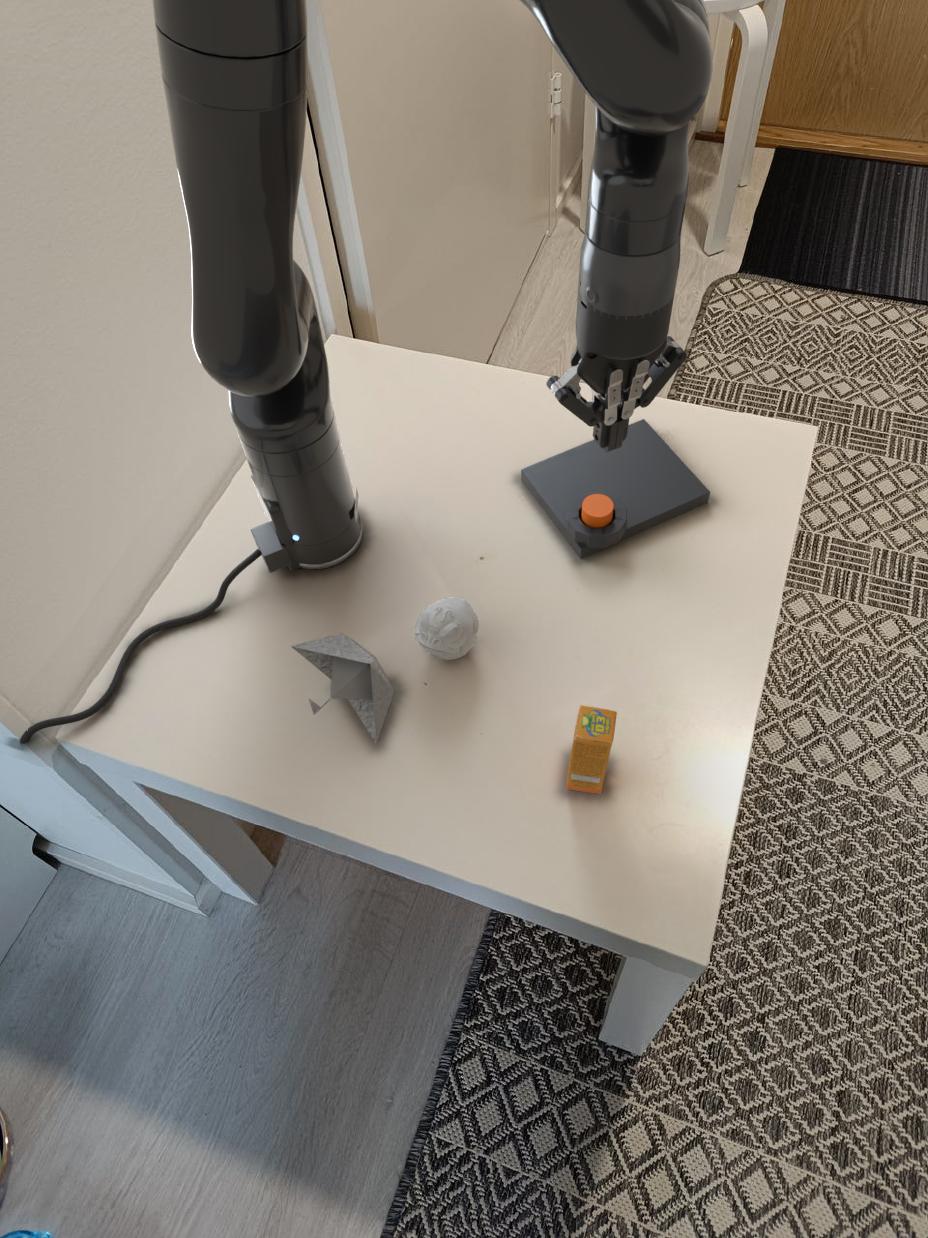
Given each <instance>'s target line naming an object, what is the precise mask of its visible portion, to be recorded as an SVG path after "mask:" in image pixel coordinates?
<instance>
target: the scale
mask: <svg viewBox="0 0 928 1238" xmlns="http://www.w3.org/2000/svg"><path fill="white" fill-rule="evenodd" d="M520 477H521V478H520V479H521V481H522V483H523V484H524V485H525V487H526V488H527V490H528V491H529V492H530V493H531V495H532V496H533V498H534V499H535V500H536V502H537V503H538V504H539V507H541V508H542V510H543V511H544V513H545V514H546V515H547V517H548V518H549V519H550V520H551V522H552V523H553V524H554V526H555V527H556V529H557V530H558V531H559V533H560V534H561V535H562V536H563V538H564V539H565V541H566V542H567V543H568V545H569V546H570V547H571V549H572V550H573V551H574V553H575V554H576V556H577V557H578V559H581V560H582V559H585V558H586V557H588V556H591V555H593V554H595V553H597V552H601V551H602V550H604V549H607V548H609V547H612V546H613V545H615V544H617V543H620V542H622V541H624V540H627V539H629V538H632V537H634V536H636V535H638V534H640V533H642V532H644V531H647V530H650V529H652V528H654V527H656V526H659V525H661V524H663V523H666V522H667V521H670V520H672V519H675V518H676V517H678V516H681V515H683V514H686V513H688V512H689V511H692V510H694V509H697V508H699V507H701V506H704V505H706V504H708V503H709V500H710V495H711V491H710V490H709V489H708V488H707V487H706V486H705V484H704V483H703V482H702V481H701V480H700V479H699V478H698V477H697V475H695V474H694V473H693V471H692V469H690V467H688V465H686V463H684V461H683V460H682V458H680V457H679V456H678V455H677V454H676V453H675V451H673V449H672V448H671V447H670V446H669V445H668V444H667V442H665V441H664V439H663V438H662V437H661V436H660V435H659V434H658V433H657V431H655V430H654V428H653V427H652V426H651V424H649V423H648V422H647V421H646V419H644V418H642V419H639V420H637V421H634V422H633V423H629V425H628V432H627V437H626V439H625V440H624V441H622V447H620V448H618V449H615V450H612V451H609V452H606V451H605V450H604V449H603V448H602V449H601V447H600V446H599V445H598V443H597V442H596V441H595V439H594V438H593V439H592V440H589V441H586V442H584V443H582V444H580V445H577V446H575V447H573V448H569V449H567V450H565V451H563V452H560V453H558V454H555V455H553V456H551V457H548V458H546V459H542V460H540V461H538V462H536V463H533V464H531V465H529V466H527V467H524V468H522V469H520ZM592 494H603V495H606V496H607V497H609V498H610V499H611V500H612V502H613V505H614V508H613V517H612V521H611V522H610V524H608V525H607V526H605V527H602V528H592V527H589V526H587V525H586V524H585V523H584V522H583V520H582V517H581V514H582V503H583V501H584V499H585V498H586V497H588V496H589V495H592Z"/></svg>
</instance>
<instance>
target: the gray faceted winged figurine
mask: <svg viewBox="0 0 928 1238" xmlns="http://www.w3.org/2000/svg"><path fill="white" fill-rule="evenodd" d="M290 648H292V649H293V650H294V651H295V652H297V653H298V654H299V655H300V656H301V657H303V658H304V659H305V660H306V661H307V662H309V663H310V664H311V665H312V666H314V667H315V668H316V669H317V670H318V671H320V672H321V673H322V674H323V675H324V676H326V677H327V678H328V679H329V680H331V681H330V698H328V699H327V701H325V703H323V704H322V705H321V706H320V705H319V704H317V703H316V702H314V701H313V700H312V699H310V698H308V701H309V704H310V708H311V712H312V714H313V716H315V715H316V714H318V712H320V711H321V710H322V709H323V708H324V707H325V706H326V705H327V704H328V703H329V702H330V701H331V700H347V701H348V702H349V704H350V705H351V707H352V708H353V710H354V712H355V713H356V714H357V716H358V717H359V719H360V721H361V722H362V724H363V725H364V727H365V728H366V730H367V731H368V733H369V734H370V737H372V738H373V741H374V743H375V744H377V743H378V741H379V738H380V736H381V732H382V730H383V727H384V724H385V721H386V717H387V715H388V712H389V710H390V707H391V704H392V701H393V698H394V695H395V689H394V686H393V685H392V683H391V681H390V679H389V677H388V675H387V674H386V672H385V671H384V669H383V668H382V666H381V663H380V662H379V661H378V659H377V658H376V656H375V655H373V654H372V653H371V652H370V651H369V650H367V649H366V648H364V646H362V645H361V644H360V643H358V642H356V641H355V640H354V639H353V638H352V637H349V636H348V635H346V634H344V633H343V632H339V633H337V634H336V633H335V634H332V635H328V636H326V637H321V638H317V639H312V640H309V641H305V642H302V643H298V644H294V645H290Z"/></svg>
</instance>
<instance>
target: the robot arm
mask: <svg viewBox="0 0 928 1238" xmlns="http://www.w3.org/2000/svg"><path fill="white" fill-rule="evenodd" d="M519 1H520V3H522V4H523V5H524V6H525V7H526V8H527V9H528V10H529V11H530V13H531V14H532V15H533V16H534V18H535V20H537V22H538V24H539V25H540V27H541V28H542V30H543V32H544V33H545V35H546V36H547V38H548V40H549V41H550V43H551V45H552V47H553V48H554V50H555V51H556V52H557V54H558V55H559V57H560V58H561V60H562V62H563V63H564V65H566V67H567V69H568V70H569V72H570V73H571V75H572V76H573V78H574V80H575V81H576V82H577V84H578V85H579V86H580V88H581V89H582V91H583V92H584V93H585V95H586V96H587V97H588V99H589V100H590V101H591V102H592V104H594V106H595V108H594V110H595V112H594V113H595V114H594V145H593V146H594V147H593V154H592V158H591V159H592V160H591V165H590V171H589V178H588V183H587V184H588V185H587V193H586V208H585V209H586V210H585V211H586V212H585V224H584V235H583V239H582V242H581V243H582V244H581V248H580V253H579V265H578V267H579V268H578V282H577V297H576V298H577V299H576V315H575V316H576V317H575V338H576V346H575V349H574V351H573V353H572V355H571V358H570V366H571V367H570V368H568V370H566V371H565V373H564V374H563V375H562V376H561V377H560V376H558V375H551V376H550V377H549V378H548V379H547V381H546V384H545V385H546V387H547V388H548V389H549V391H550V393H551V394H552V395H553V396H554V398H555V399H556V401H558V403H559V404H560V405H561V406H563V407H564V408H565V409H566V410H568V411H569V412H570V413H571V414H573V415H574V416H575V417H576V418H578V419H579V420H581V422H583V423H584V424H586V425H587V426H588V427H590V428H592V427H593V429H592V430H593V431H592V438H593V440H594V439H595V441H596V442H597V443H598V445H599V446H600V447H601V449H602V448H603V449H604V450H605V451H606V452H609V451H612V450H615V449H618V448H620V447H622V441H624V440H625V439H626V437H627V432H628V425H630V418H631V417H633V415H634V412H635V410H636V409H637V408H639V407H640V408H642V409H644V408H647V407H649V405H651V403H652V402H653V401H654V400H655V399H656V397H657V396H658V394H659V393H660V392H661V391H662V389H663V388H664V387H665V386H666V385H667V383H668V382H669V381H670V379H671V378H672V377H673V376H674V375H675V373H676V372H677V370H679V368H680V367H681V366H682V365H683V363H684V362H685V361H686V359H687V357H688V354H687V352H686V351H685V350H684V349H683V348H682V347H681V346H680V345H679V344H678V343H677V341H676V340H675V339H674V338H673V337H672V336H671V335H670V336H669V335H668V334H669V331H670V324H671V317H672V313H673V306H674V300H675V294H676V287H677V282H678V275H679V271H680V264H681V238H682V237H681V236H682V229H683V224H684V216H685V212H686V211H685V210H686V205H687V198H688V192H689V181H690V159H689V156H690V155H689V134H690V127H691V122H692V119H694V118H695V116H696V115H697V114H698V112H699V111H700V109H701V108H702V106H703V105H704V102H705V101H706V99H707V97H708V93H709V90H710V86H711V82H712V79H713V72H714V71H713V70H714V57H713V56H714V54H713V47H712V40H711V33H710V23H709V15H708V10H707V7H706V3H705V1H704V0H519ZM152 9H153V18H154V26H155V33H156V35H155V36H156V41H157V48H158V56H159V64H160V72H161V80H162V84H163V90H164V91H163V92H164V96H165V103H166V109H167V114H168V118H169V119H168V120H169V126H170V133H171V134H170V135H171V138H172V144H173V145H172V146H173V151H174V156H175V164H176V170H177V174H178V180H179V185H180V190H181V195H182V200H183V204H184V209H185V214H186V219H187V226H188V234H189V243H190V257H191V258H190V259H191V289H192V290H191V292H192V293H191V297H192V298H191V299H192V300H191V301H192V302H191V340H192V345H193V350H194V352H195V355H196V357H197V359H198V361H199V363H200V364H201V366H202V368H203V370H205V372H206V373H207V374H208V376H209V377H211V379H212V380H213V381H215V382H216V383H217V384H218V385H219V386H220V387H222V388H224V389H225V390H227V391H228V405H229V406H228V407H229V413H230V416H231V419H232V422H233V426H234V428H235V431H236V433H237V436H238V439H239V442H240V444H241V447H242V449H243V453H244V455H245V458H246V461H247V463H248V467H249V469H250V472H251V473H250V478H251V481H252V484H253V486H254V489H255V491H256V494H257V498H258V500H259V503H260V505H261V508H262V511H263V513H264V516H265V519H266V521H267V522H265V523H263V524H260V525H258V526H255V527H253V528H252V527H251V528H250V533H251V534H252V537H253V539H254V542H255V544H256V547H257V548H256V550H254V551H253V552H252V553H250V554H249V556H247V557H246V558H245V559H244V560H241V562H240V563H239V564H237V565H236V566H235V567H234V568H233V569H232V570H231V571H230V572H229V574H228V575H226V577H225V578H224V580H223V581H222V583H221V585H220V588H219V590H218V593H217V596H216V597H215V599H214V600H213V602H211V603H210V604H209V605H208V606H205V608H203V609H201V610H198V611H197V612H194V613H191V614H188V615H184V616H180V617H176V618H172V619H167V620H165V621H162V622H159V623H156V624H154V625H152V626H150V627H148V628H146V629H145V630H144V631H142V632H141V633H140V634H138V635H137V636H136V637H135V638H134V639H133V640H132V641H131V642H130V644H129V645H128V646H127V647H126V649H125V650H124V653H123V654H122V657H121V658H120V660H119V662H118V664H117V667H116V670H115V672H114V676H113V678H112V680H111V682H110V684H109V686H108V688H107V690H105V692H104V694H103V695H102V696H101V697H100V698H99V700H97V701H96V702H95V703H94V704H93V705H92V706H90V707H89V708H87V709H85V710H82V711H80V712H77V713H74V714H69V715H65V716H59V717H53V718H48V719H45V720H41V721H38V722H36V723H34V724H33V725H31V726H30V727H28V728H27V729H28V731H27V729H26V730H25V731H24V732H23V734H22V735H21V737H20V739H19V744H20V745H24V744H26V743H28V742H29V741H30V739H31V738H32V737H33V735H34V734H36V733H38V732H39V731H42V730H44V729H47V728H52V727H57V726H58V727H59V726H61V725H62V726H64V725H68V724H73V723H77V722H81V721H83V720H86V719H88V718H90V717H91V716H93V715H95V714H97V713H98V712H99V711H101V710H102V708H104V707H105V706H106V705H107V703H109V701H110V700H111V699H112V698H113V696H114V695H115V693H116V691H117V690H118V688H119V686H120V683H121V681H122V679H123V677H124V674H125V670H126V669H127V666H128V664H129V662H130V659H131V658H132V656H133V655H134V653H135V651H136V650H137V648H138V647H139V646H141V644H142V643H143V642H144V641H145V640H147V639H148V638H149V637H151V636H152V635H154V634H156V633H158V632H160V631H163V630H166V629H169V628H173V627H177V626H180V625H186V624H189V623H192V622H195V621H199V620H201V619H203V618H205V617H207V616H208V615H210V614H211V613H213V612H215V610H217V609H218V608H219V607H220V606H221V605H222V603H223V602H224V599H225V597H226V594H227V591H228V589H229V586H230V585H231V584H232V582H233V581H234V580H235V579H236V578H237V577H238V575H239V574H241V573H242V572H243V571H244V570H245V569H247V568H248V567H249V566H250V565H252V564H253V563H254V562H255V561H256V560H258V558H260V557H261V558H262V559H263V562H264V564H265V566H266V568H267V570H268V572H269V573H270V574H271V573H274V572H277V571H279V570H281V569H284V568H286V567H288V570H289V571H291V572H292V571H295V570H298V569H300V568H301V569H306V570H321V569H327V568H328V569H329V568H331V567H334V566H337V565H339V564H341V563H342V562H345V560H347V559H349V558H350V557H351V556H352V555H353V554H354V553H355V552H356V551H357V550H358V548H359V546H360V544H361V542H362V539H363V535H364V534H363V533H364V527H363V522H362V519H361V517H360V513H359V509H358V505H359V493H358V488H357V487H356V488H355V493H354V489H353V484H352V481H351V477H350V473H349V469H348V464H347V460H346V455H345V452H344V448H343V443H342V439H341V435H340V430H339V427H338V422H337V418H336V414H335V410H334V405H333V400H332V394H331V382H330V371H329V363H328V357H327V352H326V347H325V343H324V338H323V333H322V329H321V324H320V319H319V314H318V309H317V304H316V301H315V297H314V294H313V290H312V287H311V285H310V282H309V280H308V278H307V276H306V274H305V272H304V271H303V270H302V268H301V267H300V266H299V264H298V263H297V262H296V260H294V230H295V221H296V213H297V206H298V198H299V191H300V184H301V176H302V167H303V160H304V159H303V158H304V149H305V138H306V127H307V126H306V125H307V111H308V90H309V89H308V88H309V87H308V84H309V82H308V80H309V79H308V10H307V0H152ZM649 378H650V380H651V381H650V383H649V384H648V385H647V387H646V388H644V385H645V384H646V382H647V381H648V380H649ZM581 380H582V381H583V382H584V383H585V384H586V385H587V386H589V389H590V391H591V401H587V399H586V398H585V397H584V396H582V394H581V390H582V387H581V386H580V383H581Z"/></svg>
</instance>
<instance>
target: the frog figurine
mask: <svg viewBox="0 0 928 1238" xmlns="http://www.w3.org/2000/svg"><path fill="white" fill-rule="evenodd" d="M479 628H480V624H479V618H478V616H477V614H476V612H475V611H474V608H473V607H472V605H471V603H469V602H468V601H467V600H466V599H464V598H461V597H457V596H448V597H444V598H442V599H439V600H437V601H435V602H432V603H430V604H428V605H427V606H426V607H425V608H424V610H423V611H422V613H420V614H419V616H418V617H417V619H416V620H415V624H414V628H413V629H414V633H413V638H414V640H416V641H417V642H418V644H419V645H420V646H421V647H422V649H423V650H424V651H425V652H427V653H430V654H432V655H433V656H435V657H437V658H439V659H442V660H445V661H446V660H447V661H450V660H451V661H452V660H456V659H460V658H461V657H464V656H466V654H468V653H469V651H470V650H471V649H472V648H473V647H474V646H475V645H476V642H477V633H478V632H479Z"/></svg>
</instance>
